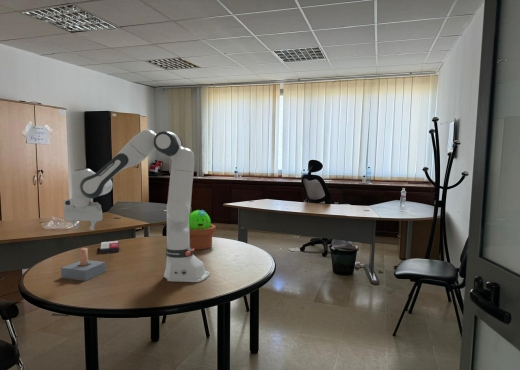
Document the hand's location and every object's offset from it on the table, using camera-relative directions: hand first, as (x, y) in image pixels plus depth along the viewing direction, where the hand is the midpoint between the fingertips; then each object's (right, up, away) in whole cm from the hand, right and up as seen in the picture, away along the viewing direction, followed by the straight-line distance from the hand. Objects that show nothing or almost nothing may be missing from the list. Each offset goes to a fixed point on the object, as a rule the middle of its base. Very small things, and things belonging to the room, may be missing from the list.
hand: (83, 229), depth 168 cm
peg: (0, -22, +2) cm, 22 cm away
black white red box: (-8, -20, +47) cm, 52 cm away
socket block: (0, -23, +2) cm, 23 cm away
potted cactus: (+47, -19, +58) cm, 77 cm away
